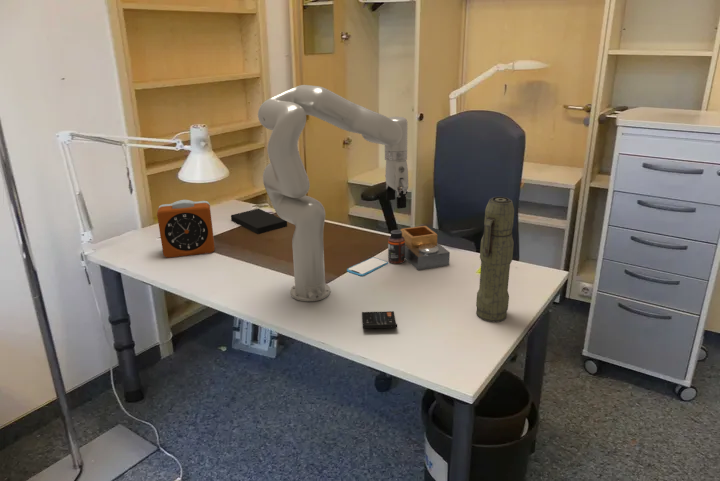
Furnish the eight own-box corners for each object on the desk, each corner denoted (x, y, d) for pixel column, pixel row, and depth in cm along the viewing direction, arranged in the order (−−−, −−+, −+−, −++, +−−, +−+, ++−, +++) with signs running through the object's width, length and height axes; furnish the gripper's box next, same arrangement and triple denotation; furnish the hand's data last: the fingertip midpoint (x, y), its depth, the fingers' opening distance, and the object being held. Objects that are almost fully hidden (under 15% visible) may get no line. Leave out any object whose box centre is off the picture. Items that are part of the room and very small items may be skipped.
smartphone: (389, 262, 194) (362, 274, 183) (389, 265, 195) (362, 278, 184) (372, 256, 199) (345, 269, 188) (372, 259, 199) (345, 272, 188)
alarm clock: (163, 258, 201) (155, 205, 194) (165, 250, 209) (157, 199, 201) (215, 253, 206) (208, 201, 198) (214, 244, 213) (208, 194, 206)
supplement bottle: (405, 258, 198) (405, 228, 194) (404, 264, 193) (404, 234, 189) (388, 257, 199) (388, 228, 195) (387, 264, 193) (387, 234, 189)
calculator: (393, 313, 161) (393, 304, 159) (397, 334, 150) (397, 324, 149) (361, 314, 160) (361, 305, 159) (363, 335, 149) (363, 325, 148)
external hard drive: (258, 235, 224) (257, 228, 223) (231, 221, 240) (230, 215, 239) (287, 227, 232) (286, 220, 231) (259, 214, 249) (259, 208, 248)
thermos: (514, 311, 160) (525, 196, 147) (496, 327, 151) (506, 207, 139) (486, 302, 165) (495, 191, 152) (467, 318, 156) (475, 201, 144)
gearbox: (449, 265, 191) (450, 241, 188) (417, 270, 188) (418, 246, 185) (425, 245, 209) (425, 223, 206) (396, 249, 206) (396, 227, 202)
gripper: (416, 159, 175) (416, 209, 181) (396, 148, 190) (396, 195, 197) (395, 161, 173) (395, 212, 179) (376, 150, 188) (377, 198, 194)
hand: (395, 203), depth 188 cm, fingers open, 9 cm apart
